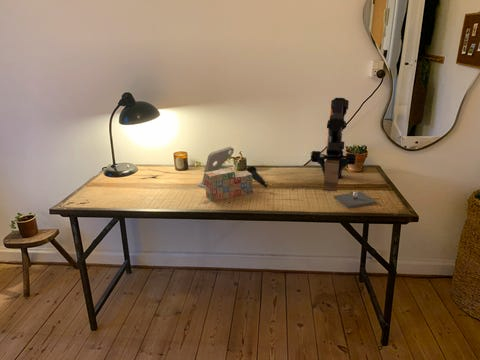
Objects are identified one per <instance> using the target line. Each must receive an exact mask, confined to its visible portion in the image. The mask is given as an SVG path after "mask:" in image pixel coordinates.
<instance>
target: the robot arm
mask: <svg viewBox="0 0 480 360" xmlns="http://www.w3.org/2000/svg"><path fill="white" fill-rule="evenodd" d="M349 102H350V101H349V100H348V99H346V98H344V97H334V99H331V102H330V109H331V110H332V111H331V112H332V114H331V115H329V119H328V120H327V123H326V128H327V130H328V131H327V132H328V133H327V134H328V139H327V146H326V152H325V153H326V154H324V153H321V151H320V150H311V152H310V160H311V162H312V163H317V164H318V165H320V168H321V170H322V174H323V175H324V173H325V162H326V160H335V161H339V172H338V179H342V178H344V177H343V175H342V173H343V170H344V169H345V167H348V166H349V165H356V158H357V157H356V156H357V155H356V153H353V152H346V155H344V151H343V150H345V141H342V138H343V131H344V130H345V129H346V128H347V126H348V125H347V122H346V120H345V116H346V115H347V111H348V110H349V105H350V103H349Z"/></svg>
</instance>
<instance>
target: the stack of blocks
mask: <svg viewBox="0 0 480 360" xmlns="http://www.w3.org/2000/svg"><path fill="white" fill-rule="evenodd" d="M230 168H231V167H230ZM230 168H225V169H220V170H215V171H209V172H205V171H204V172H205V186H206V188H205V196H206V198H207V199H208V200H210V202H215V201H220V200H223V199H229V198H234V197H236V196H237V197H238V196H243V195H247V194H251V193H254V192H253V191H254V182H253V180H254V179H253V177H252V174H251V173H249V172H248V171H246V170H243V171H242V170H241V171H236V172H235V171H234V170H231V169H230Z"/></svg>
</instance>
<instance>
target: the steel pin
mask: <svg viewBox="0 0 480 360" xmlns="http://www.w3.org/2000/svg"><path fill="white" fill-rule="evenodd" d="M358 192H359V191H358V190H357V191H356V190H354V191H353V192H352V193H353V199H357V197H358Z"/></svg>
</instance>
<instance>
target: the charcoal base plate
mask: <svg viewBox="0 0 480 360" xmlns="http://www.w3.org/2000/svg"><path fill="white" fill-rule="evenodd" d="M357 192H358V197H357V199H353V192H348V193H343V194H342V193H341V194H337V195H333V199H335V200H337V201H338V202H339V203H340V204H342V205H343V206H344V207H346V208H347V209H352V208H353V209H354V208H359V207H364V206H365V207H366V206H370V205H376V204H377V203H378V201H377V200H375V199H374V198H372V197H371V196H369V195H368V194H366V193H364V192H363V191H357Z"/></svg>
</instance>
